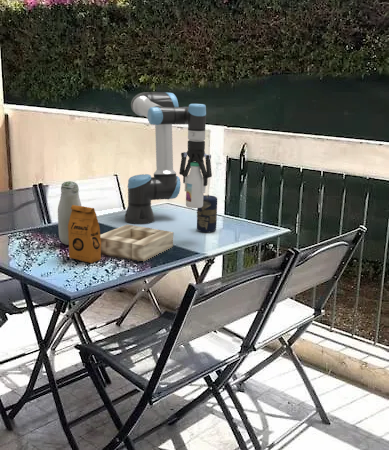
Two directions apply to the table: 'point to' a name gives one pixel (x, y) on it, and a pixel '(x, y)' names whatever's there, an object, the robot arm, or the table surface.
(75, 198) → the glass bottle
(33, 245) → the table surface
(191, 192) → the milk bottle
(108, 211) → the table surface
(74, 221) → the coffee package
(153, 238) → the well block
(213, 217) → the canister
